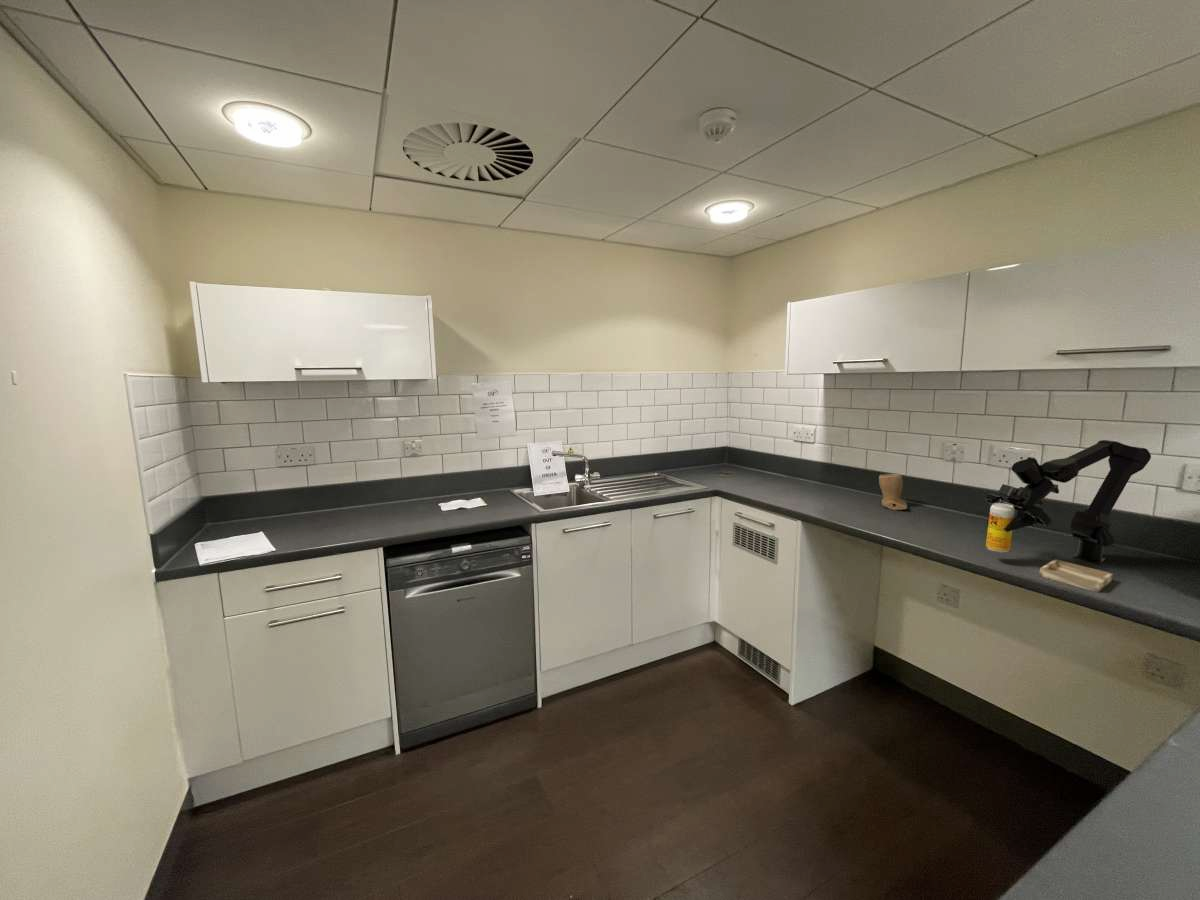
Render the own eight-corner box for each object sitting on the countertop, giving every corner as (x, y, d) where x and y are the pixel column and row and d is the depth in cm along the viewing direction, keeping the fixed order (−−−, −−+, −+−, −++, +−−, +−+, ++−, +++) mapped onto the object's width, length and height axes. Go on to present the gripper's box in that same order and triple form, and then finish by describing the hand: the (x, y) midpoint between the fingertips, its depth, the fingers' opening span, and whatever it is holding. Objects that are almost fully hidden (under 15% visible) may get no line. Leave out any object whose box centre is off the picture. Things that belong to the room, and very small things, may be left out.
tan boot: (876, 500, 231) (879, 470, 228) (905, 504, 225) (909, 472, 222) (875, 508, 218) (879, 476, 216) (906, 512, 212) (910, 479, 210)
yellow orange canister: (981, 547, 159) (986, 503, 156) (993, 545, 161) (998, 501, 158) (1001, 554, 153) (1007, 508, 151) (1014, 551, 155) (1020, 506, 153)
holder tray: (1053, 566, 154) (1055, 559, 153) (1111, 581, 143) (1113, 573, 143) (1038, 575, 147) (1040, 568, 147) (1098, 592, 136) (1099, 584, 136)
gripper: (993, 470, 162) (958, 503, 164) (1047, 483, 144) (1008, 520, 145) (1012, 492, 164) (978, 524, 165) (1068, 507, 146) (1029, 544, 147)
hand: (996, 527), depth 156 cm, fingers closed on yellow orange canister, 6 cm apart
